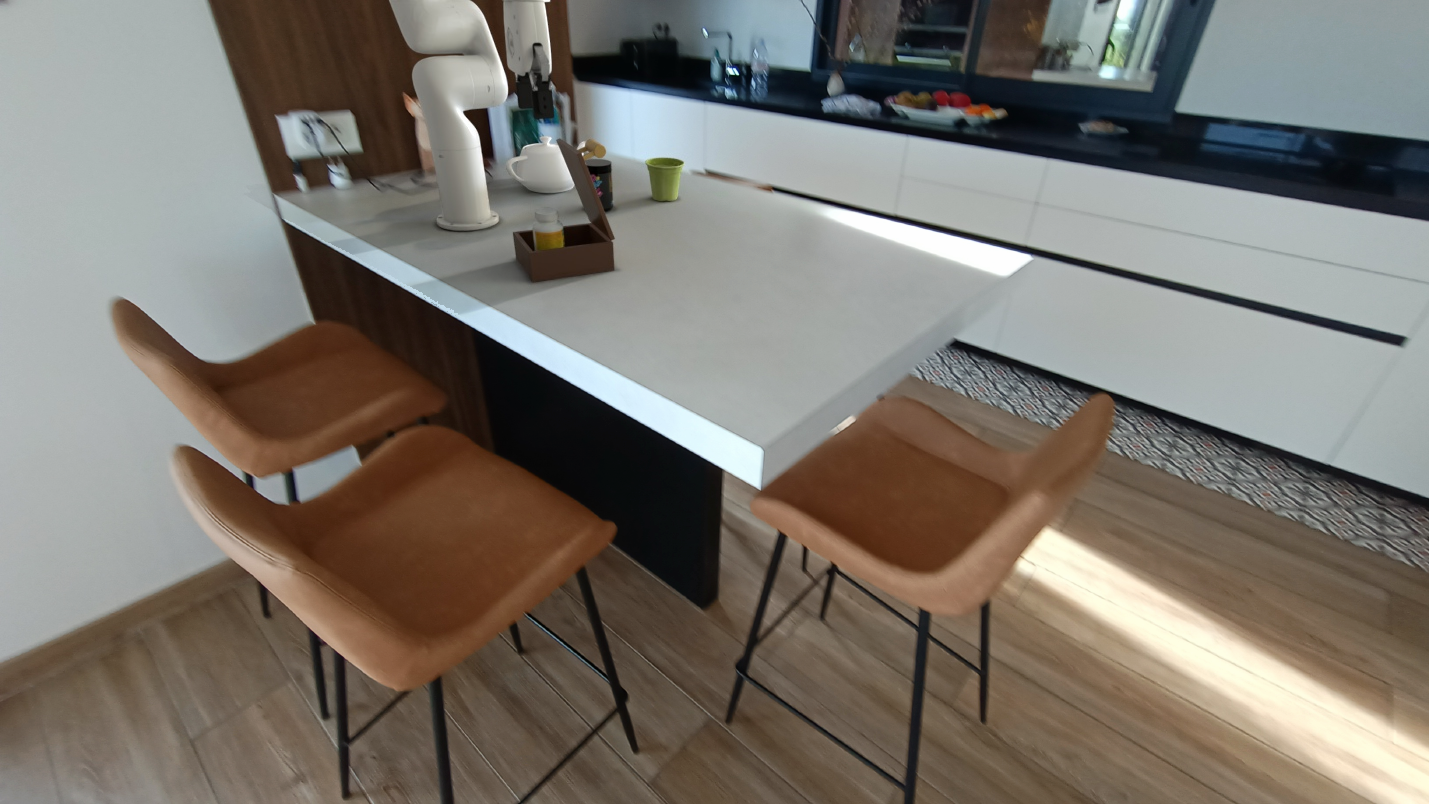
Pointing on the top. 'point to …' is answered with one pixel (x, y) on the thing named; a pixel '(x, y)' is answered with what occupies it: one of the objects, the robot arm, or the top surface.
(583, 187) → the brown drawer front
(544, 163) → the teapot
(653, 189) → the plant pot
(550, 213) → the supplement bottle
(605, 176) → the supplement container
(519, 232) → the brown box
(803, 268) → the top surface
